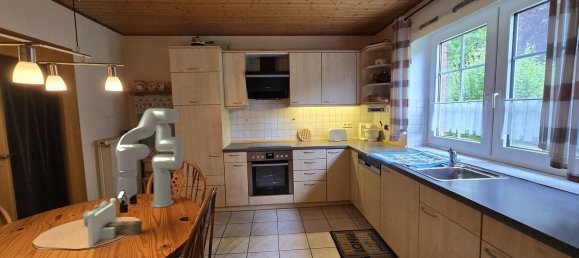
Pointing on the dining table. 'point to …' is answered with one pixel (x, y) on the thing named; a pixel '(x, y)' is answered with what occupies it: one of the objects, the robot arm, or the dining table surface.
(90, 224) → the pale grey legged piece
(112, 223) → the rail
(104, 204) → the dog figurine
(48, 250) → the dining table surface
